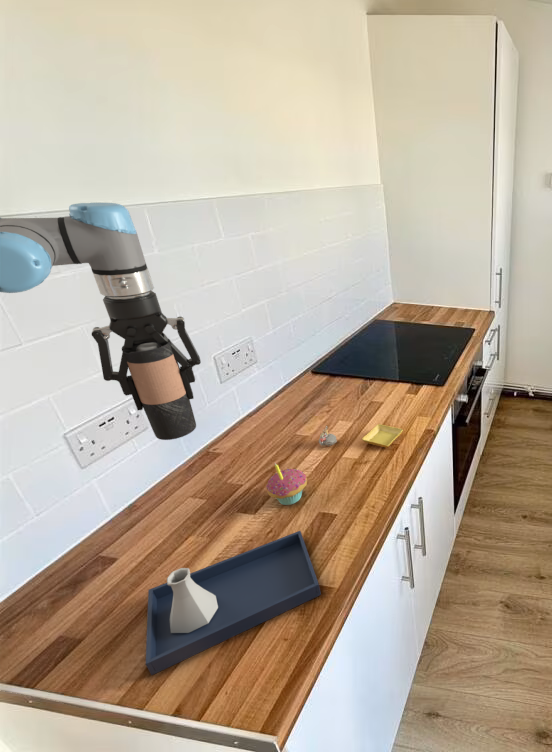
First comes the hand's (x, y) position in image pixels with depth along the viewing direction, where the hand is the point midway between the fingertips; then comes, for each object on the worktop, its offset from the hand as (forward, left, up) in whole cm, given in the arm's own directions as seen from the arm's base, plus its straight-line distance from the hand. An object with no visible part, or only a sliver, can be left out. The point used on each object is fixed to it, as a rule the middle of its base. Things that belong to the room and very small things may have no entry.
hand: (166, 401), depth 88 cm
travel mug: (0, 0, -7) cm, 7 cm away
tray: (+4, -32, -27) cm, 42 cm away
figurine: (+30, +8, -27) cm, 41 cm away
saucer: (+44, +2, -27) cm, 52 cm away
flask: (-2, -32, -27) cm, 42 cm away
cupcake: (+17, -10, -27) cm, 34 cm away
